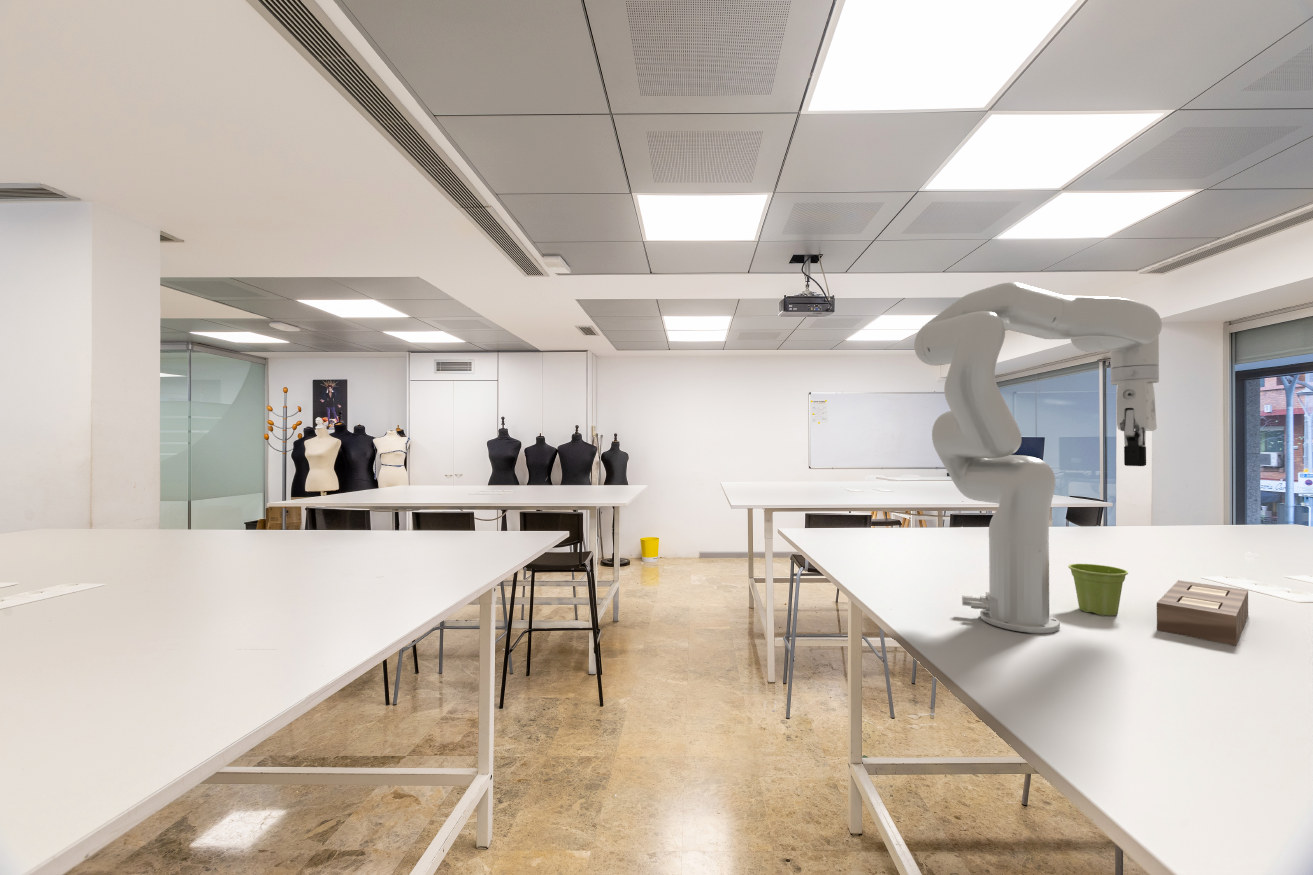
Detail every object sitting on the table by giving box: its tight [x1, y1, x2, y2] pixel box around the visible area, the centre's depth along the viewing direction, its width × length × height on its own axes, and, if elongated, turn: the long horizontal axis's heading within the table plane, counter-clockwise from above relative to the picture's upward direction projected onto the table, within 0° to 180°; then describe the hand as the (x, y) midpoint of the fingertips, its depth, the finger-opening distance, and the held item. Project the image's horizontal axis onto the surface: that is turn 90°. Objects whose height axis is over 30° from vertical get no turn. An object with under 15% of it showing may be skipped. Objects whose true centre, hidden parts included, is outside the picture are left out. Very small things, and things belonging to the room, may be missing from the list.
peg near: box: [1179, 597, 1221, 609], centre depth 101 cm, size 5×5×5 cm
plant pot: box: [1068, 563, 1129, 617], centre depth 112 cm, size 9×9×9 cm
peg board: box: [1156, 579, 1249, 646], centre depth 105 cm, size 24×10×5 cm, turn 130°
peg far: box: [1189, 586, 1228, 596], centre depth 109 cm, size 5×5×5 cm
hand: (1135, 465), depth 114 cm, fingers closed
